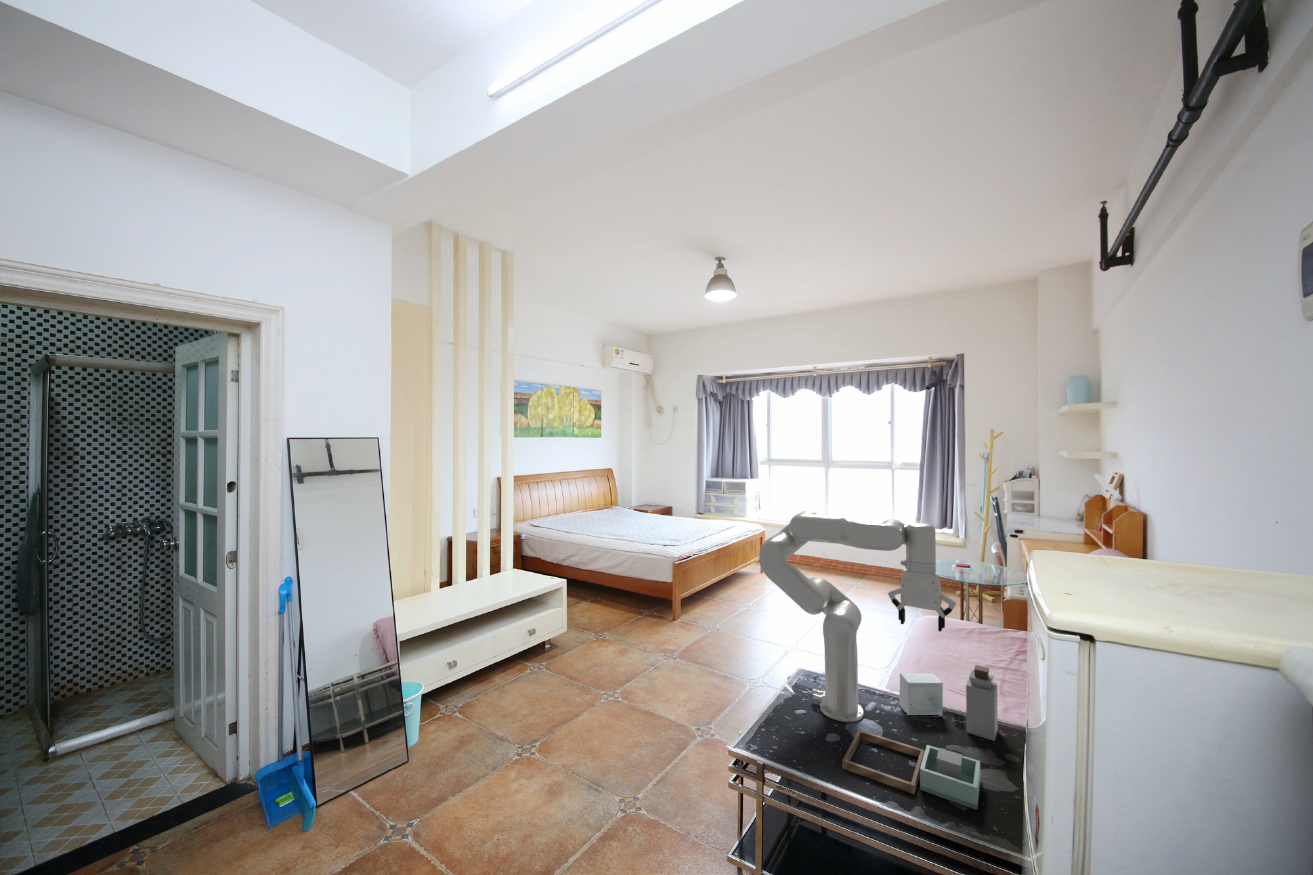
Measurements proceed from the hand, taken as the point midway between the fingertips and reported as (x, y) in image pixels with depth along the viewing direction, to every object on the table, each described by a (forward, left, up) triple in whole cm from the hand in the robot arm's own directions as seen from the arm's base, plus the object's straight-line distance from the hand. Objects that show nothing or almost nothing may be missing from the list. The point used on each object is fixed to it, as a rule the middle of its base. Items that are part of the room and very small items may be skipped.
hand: (921, 626), depth 145 cm
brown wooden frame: (-6, -21, -30) cm, 37 cm away
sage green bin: (+9, -21, -30) cm, 38 cm away
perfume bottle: (+14, +10, -31) cm, 35 cm away
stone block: (+9, -21, -29) cm, 37 cm away
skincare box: (-2, +12, -31) cm, 33 cm away
